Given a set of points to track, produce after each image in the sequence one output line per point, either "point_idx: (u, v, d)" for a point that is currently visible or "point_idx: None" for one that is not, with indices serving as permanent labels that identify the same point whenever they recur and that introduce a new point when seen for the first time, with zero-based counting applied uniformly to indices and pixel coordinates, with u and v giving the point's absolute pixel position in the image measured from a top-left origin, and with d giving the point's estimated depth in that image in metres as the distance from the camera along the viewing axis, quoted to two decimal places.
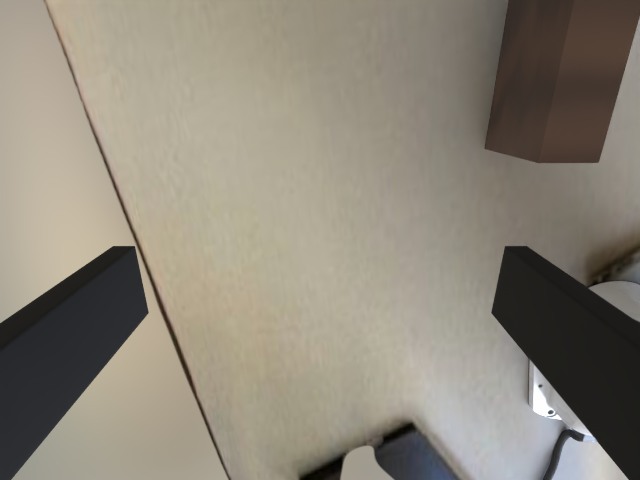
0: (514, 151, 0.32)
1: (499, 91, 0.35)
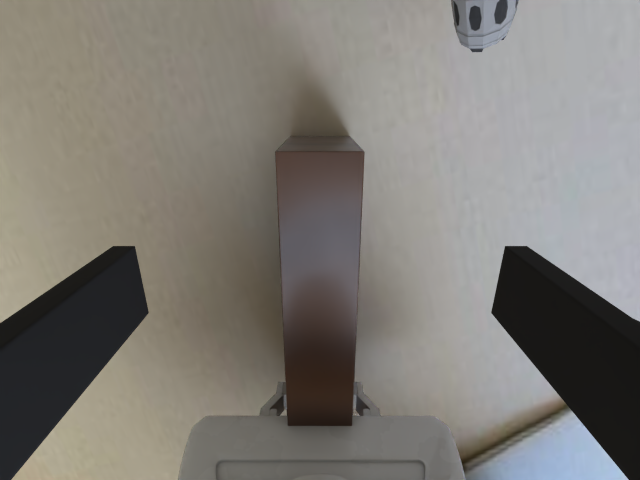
0: None
1: None
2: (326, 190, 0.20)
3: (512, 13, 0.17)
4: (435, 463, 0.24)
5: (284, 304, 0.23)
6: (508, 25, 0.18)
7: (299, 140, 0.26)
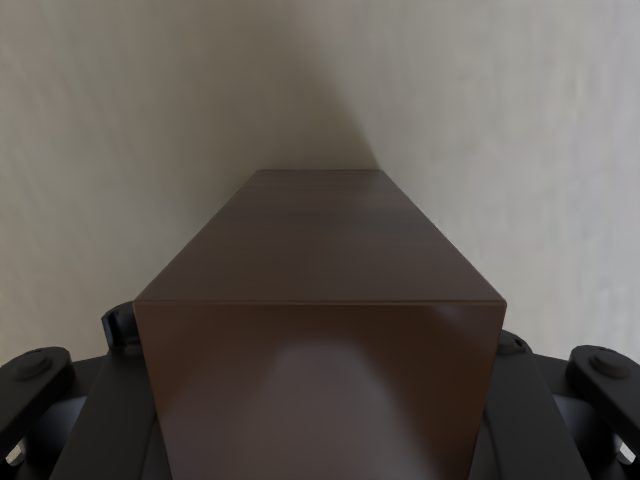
0: None
1: None
2: (345, 426, 0.05)
3: None
4: None
5: None
6: None
7: (270, 190, 0.11)
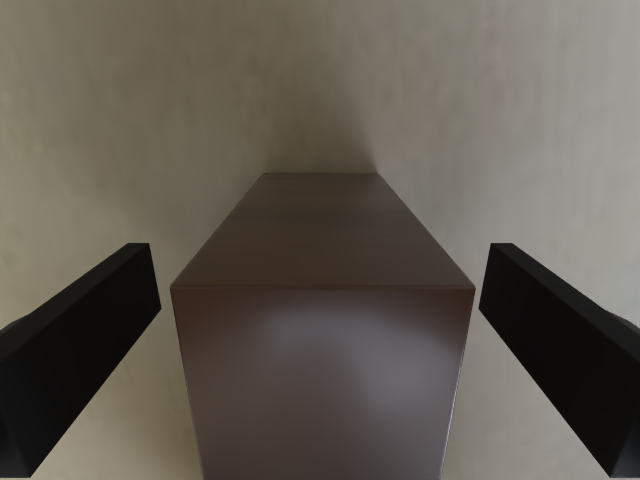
0: None
1: None
2: (344, 392, 0.06)
3: None
4: None
5: None
6: None
7: (276, 192, 0.12)
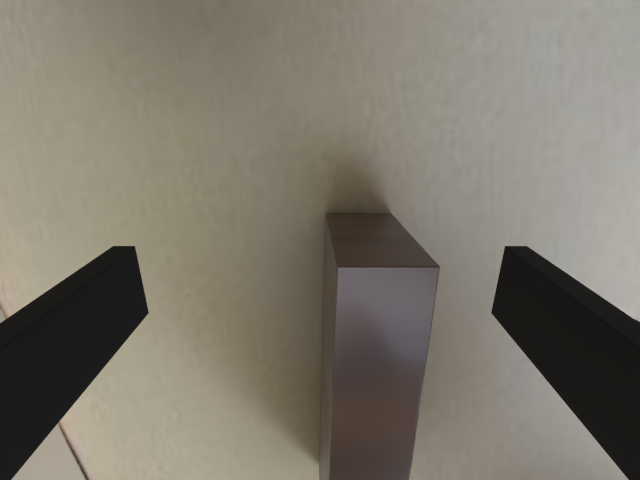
0: None
1: (320, 433, 0.32)
2: (393, 306, 0.17)
3: None
4: None
5: (333, 426, 0.20)
6: None
7: (343, 227, 0.23)
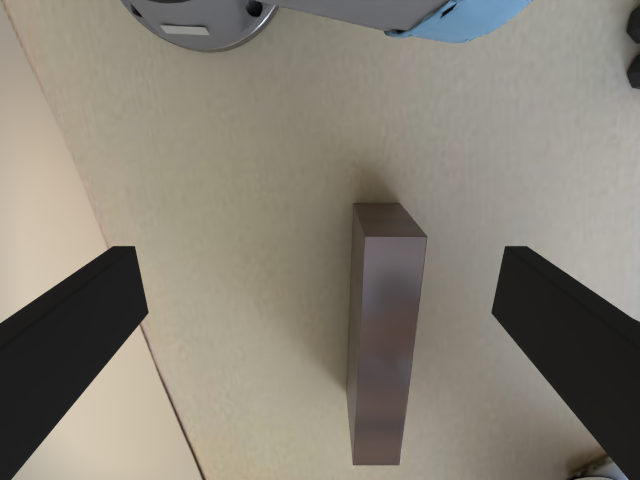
0: (350, 430, 0.41)
1: (348, 364, 0.43)
2: (398, 261, 0.29)
3: None
4: None
5: (361, 339, 0.31)
6: None
7: (367, 213, 0.34)
